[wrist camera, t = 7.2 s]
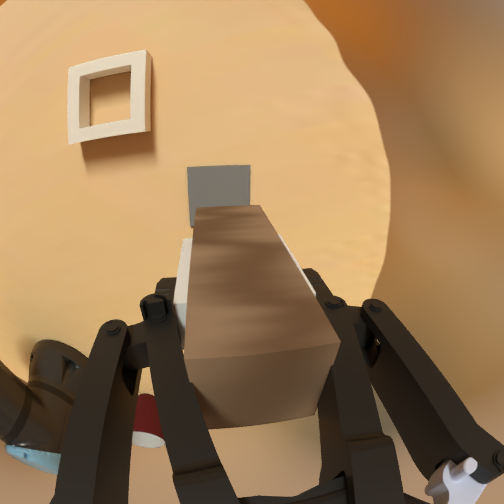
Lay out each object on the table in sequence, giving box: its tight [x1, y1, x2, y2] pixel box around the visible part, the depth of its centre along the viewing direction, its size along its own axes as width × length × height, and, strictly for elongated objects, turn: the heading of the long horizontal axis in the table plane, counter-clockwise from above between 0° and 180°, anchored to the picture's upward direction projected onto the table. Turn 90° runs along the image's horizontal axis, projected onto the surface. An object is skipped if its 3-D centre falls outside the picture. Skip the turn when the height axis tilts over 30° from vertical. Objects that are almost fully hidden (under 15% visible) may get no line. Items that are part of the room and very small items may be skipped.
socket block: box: [67, 50, 152, 144], centre depth 22 cm, size 9×9×3 cm
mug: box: [132, 394, 165, 448], centre depth 42 cm, size 10×8×10 cm
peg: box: [184, 205, 341, 429], centre depth 14 cm, size 4×4×14 cm
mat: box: [187, 165, 250, 226], centre depth 31 cm, size 7×7×1 cm
